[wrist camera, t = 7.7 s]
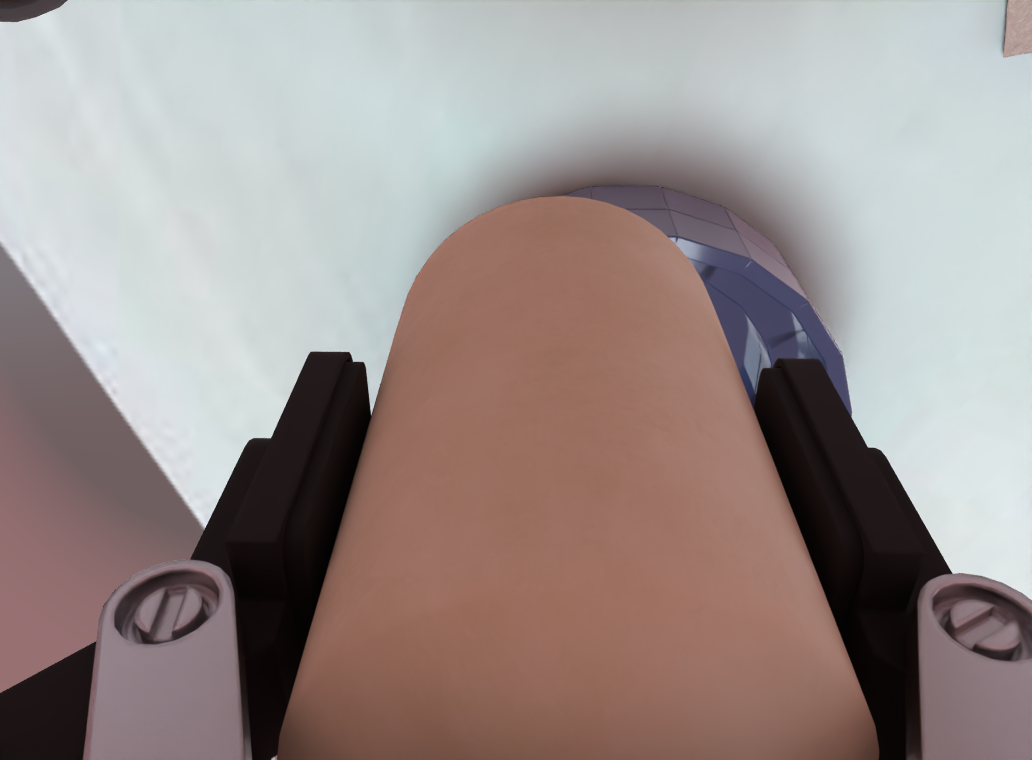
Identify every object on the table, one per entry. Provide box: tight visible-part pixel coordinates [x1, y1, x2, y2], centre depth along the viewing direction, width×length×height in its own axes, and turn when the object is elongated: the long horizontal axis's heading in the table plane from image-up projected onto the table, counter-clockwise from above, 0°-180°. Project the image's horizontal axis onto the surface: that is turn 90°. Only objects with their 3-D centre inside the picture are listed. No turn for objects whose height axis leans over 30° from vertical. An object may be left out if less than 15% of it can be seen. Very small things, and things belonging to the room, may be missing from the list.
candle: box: [277, 196, 879, 760], centre depth 11 cm, size 6×6×10 cm
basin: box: [562, 186, 852, 416], centre depth 32 cm, size 15×15×5 cm
